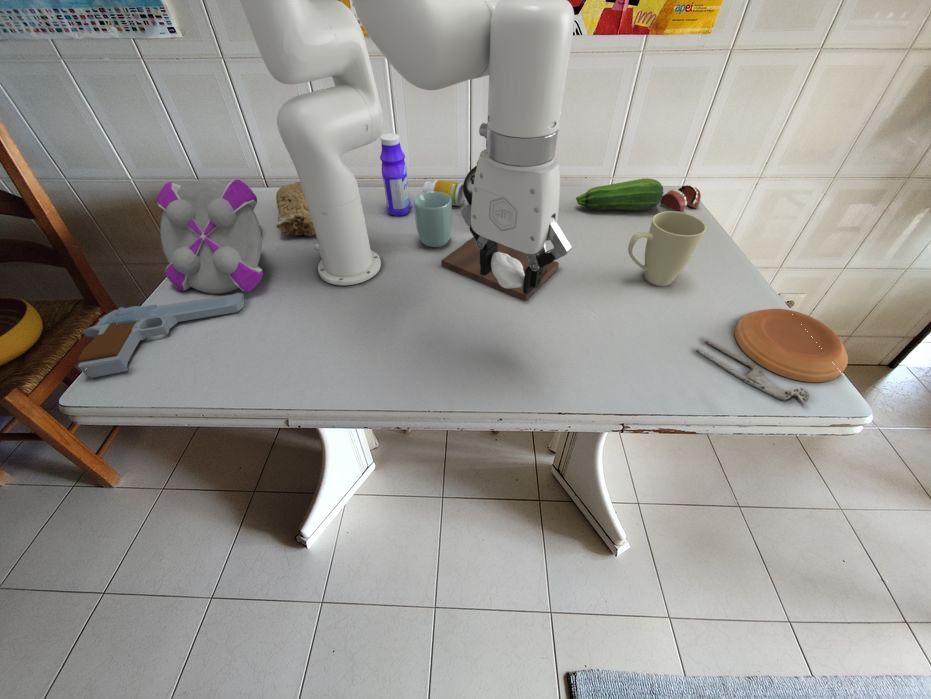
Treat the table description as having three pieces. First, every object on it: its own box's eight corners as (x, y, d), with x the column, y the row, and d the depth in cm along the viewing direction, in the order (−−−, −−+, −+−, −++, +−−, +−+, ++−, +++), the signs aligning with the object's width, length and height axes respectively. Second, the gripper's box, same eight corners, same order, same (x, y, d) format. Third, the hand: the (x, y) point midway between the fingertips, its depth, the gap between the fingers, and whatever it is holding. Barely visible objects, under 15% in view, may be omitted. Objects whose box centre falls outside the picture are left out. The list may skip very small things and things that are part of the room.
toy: (183, 130, 73) (242, 154, 87) (111, 237, 78) (178, 243, 93) (284, 233, 73) (326, 240, 88) (205, 332, 79) (257, 323, 93)
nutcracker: (693, 349, 69) (710, 334, 71) (692, 352, 69) (709, 338, 71) (799, 410, 60) (815, 392, 61) (796, 414, 60) (812, 395, 62)
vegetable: (669, 177, 96) (581, 177, 97) (665, 210, 99) (578, 210, 99) (657, 179, 103) (574, 180, 104) (653, 210, 105) (572, 210, 106)
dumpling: (484, 272, 61) (490, 246, 59) (518, 276, 62) (525, 251, 60) (491, 294, 55) (497, 266, 53) (529, 299, 56) (537, 271, 54)
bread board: (441, 266, 87) (441, 257, 86) (478, 239, 95) (478, 231, 93) (525, 301, 79) (526, 292, 77) (558, 269, 86) (559, 260, 85)
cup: (448, 253, 91) (446, 209, 84) (413, 250, 92) (408, 206, 85) (456, 235, 96) (455, 192, 89) (423, 232, 97) (419, 189, 90)
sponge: (328, 241, 97) (336, 187, 108) (311, 214, 90) (322, 159, 101) (275, 252, 98) (288, 197, 109) (255, 226, 92) (271, 171, 103)
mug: (644, 259, 88) (662, 204, 80) (690, 278, 83) (715, 222, 75) (616, 281, 83) (632, 225, 75) (663, 303, 78) (686, 246, 69)
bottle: (409, 217, 102) (400, 141, 90) (386, 217, 102) (374, 141, 90) (412, 203, 107) (404, 130, 95) (390, 203, 107) (379, 130, 95)
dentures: (663, 185, 101) (687, 179, 105) (655, 203, 104) (678, 197, 108) (684, 196, 98) (708, 190, 101) (675, 215, 101) (699, 208, 105)
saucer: (725, 302, 73) (718, 315, 76) (771, 369, 62) (761, 383, 64) (818, 301, 73) (808, 314, 75) (881, 369, 62) (868, 382, 64)
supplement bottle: (461, 179, 102) (425, 174, 104) (456, 200, 102) (419, 194, 104) (467, 189, 107) (432, 184, 110) (461, 209, 107) (426, 204, 109)
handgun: (71, 383, 65) (99, 323, 75) (242, 351, 71) (246, 299, 81) (57, 368, 63) (87, 308, 73) (235, 336, 69) (240, 284, 79)
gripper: (437, 136, 47) (443, 270, 60) (578, 176, 40) (550, 318, 53) (476, 119, 51) (474, 247, 64) (610, 152, 44) (577, 289, 57)
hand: (509, 278), depth 58 cm, fingers closed on dumpling, 6 cm apart
